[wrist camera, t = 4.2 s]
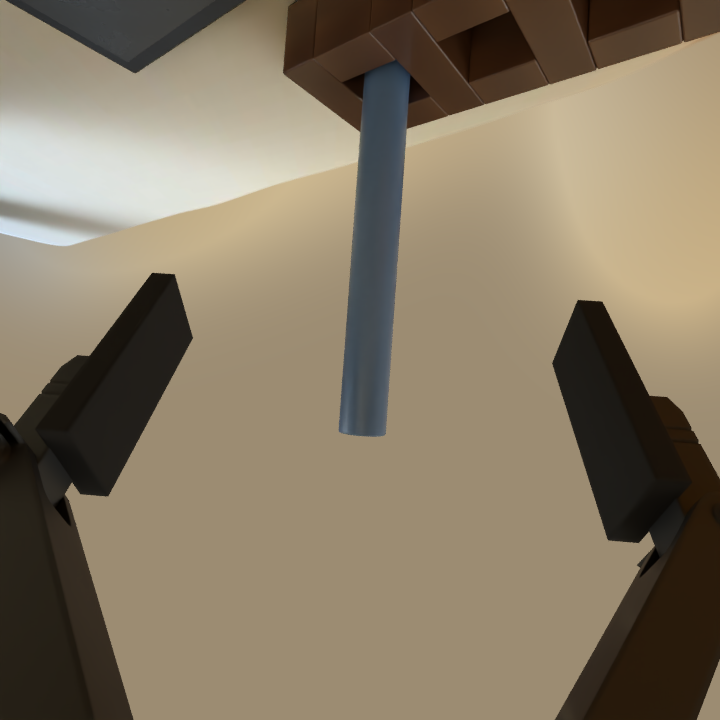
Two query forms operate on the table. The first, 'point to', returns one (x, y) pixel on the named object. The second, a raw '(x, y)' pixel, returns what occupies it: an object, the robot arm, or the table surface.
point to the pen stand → (474, 45)
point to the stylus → (374, 251)
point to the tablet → (129, 24)
